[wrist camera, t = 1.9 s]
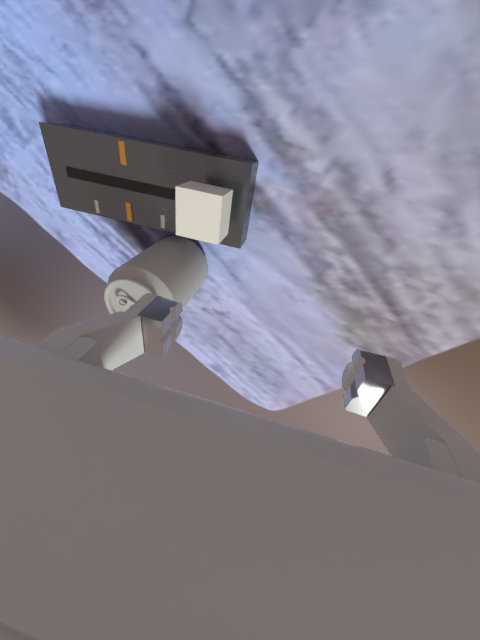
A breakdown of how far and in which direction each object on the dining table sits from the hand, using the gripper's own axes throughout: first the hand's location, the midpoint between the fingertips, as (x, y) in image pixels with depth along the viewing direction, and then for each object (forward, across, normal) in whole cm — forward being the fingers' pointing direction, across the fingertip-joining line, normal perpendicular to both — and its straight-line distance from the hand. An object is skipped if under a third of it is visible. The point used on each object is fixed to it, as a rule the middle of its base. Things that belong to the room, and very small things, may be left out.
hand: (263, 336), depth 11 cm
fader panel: (+21, +16, 0) cm, 27 cm away
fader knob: (+18, +8, 0) cm, 20 cm away
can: (+22, +13, +9) cm, 27 cm away
